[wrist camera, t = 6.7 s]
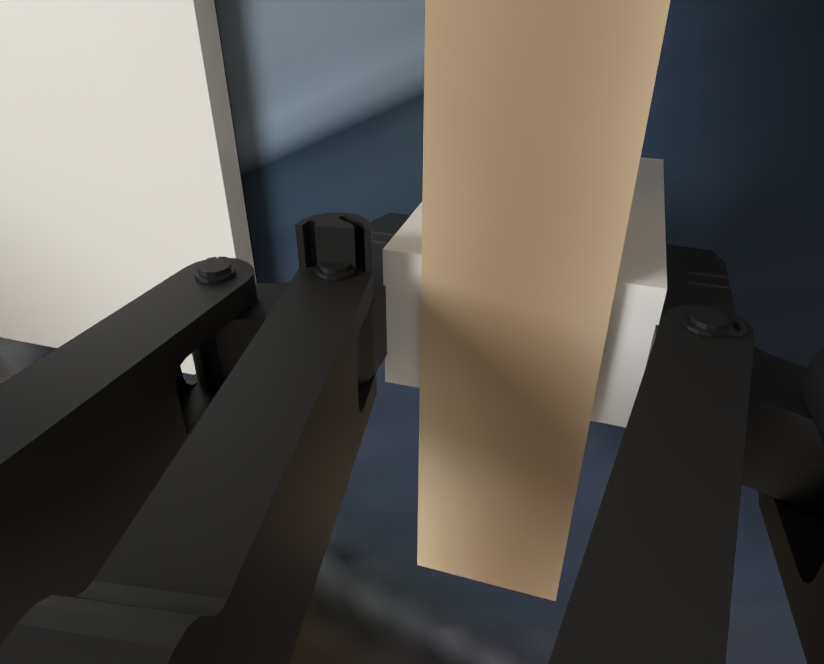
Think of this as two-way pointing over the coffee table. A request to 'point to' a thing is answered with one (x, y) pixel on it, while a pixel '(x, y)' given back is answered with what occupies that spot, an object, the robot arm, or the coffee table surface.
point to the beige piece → (521, 265)
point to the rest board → (110, 158)
